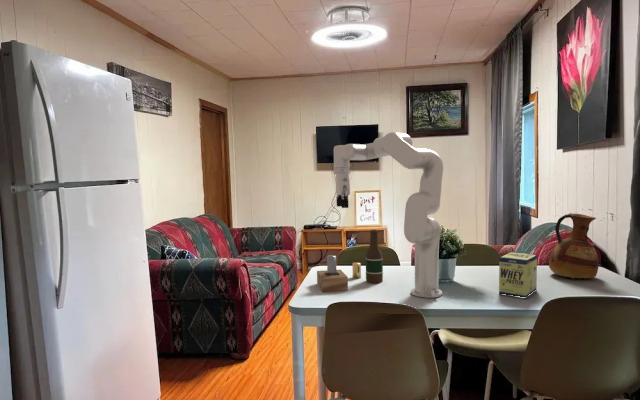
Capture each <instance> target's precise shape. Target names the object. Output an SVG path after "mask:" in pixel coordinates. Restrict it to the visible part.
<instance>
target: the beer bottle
mask: <svg viewBox="0 0 640 400" xmlns="http://www.w3.org/2000/svg"><path fill="white" fill-rule="evenodd" d="M369 234H370V235H369V247H368V248H367V250H366V253H365V280H366V281H365V282H367V283H369V284H381V283H383V282H384V281H383V278H384V276H383V275H384V271H383V270H384V268H383V267H384V266H383V265H384V264H383V262H384V261H383V260H384V258H383V257H384V256H383V253H382V250H381V249H380V247H379V237H378V234H379V231H378V230H377V229H370V231H369Z"/></svg>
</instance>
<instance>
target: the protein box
mask: <svg viewBox="0 0 640 400" xmlns="http://www.w3.org/2000/svg"><path fill="white" fill-rule="evenodd" d="M498 261H499V262H498V263H499V264H498V265H499V267H498V269H499V270H498V272H499V273H498V274H499V275H498V295H499V294H506V295H513V296H520V297H527V296H528V295H529V294H531V293H532V292H533V291H535V290H536V291H537V287H538V286H537V284H538V283H537V276H538V274H537V273H538V254H535V253H534V254H533V253H527V252H526V253H523V252H516V251H511V252H508V253H506V254H505V255H502V256H499V260H498Z"/></svg>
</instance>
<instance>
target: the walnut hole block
mask: <svg viewBox="0 0 640 400" xmlns="http://www.w3.org/2000/svg"><path fill="white" fill-rule="evenodd" d="M348 281H349V277H348V275H347V274H346V273H345V272H344V271H343V270H341V269H336V275H332V276H327V269H326V270H317V271H316V283H317V285H318V287H319V289H320V291H321V292H322V293H334V292H346V291H347V292H348V291H349V282H348Z"/></svg>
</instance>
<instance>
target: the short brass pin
mask: <svg viewBox="0 0 640 400" xmlns="http://www.w3.org/2000/svg"><path fill="white" fill-rule="evenodd" d="M351 270H352V279H355V280H359V279H361V278H362V263H361V262H352V269H351Z"/></svg>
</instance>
